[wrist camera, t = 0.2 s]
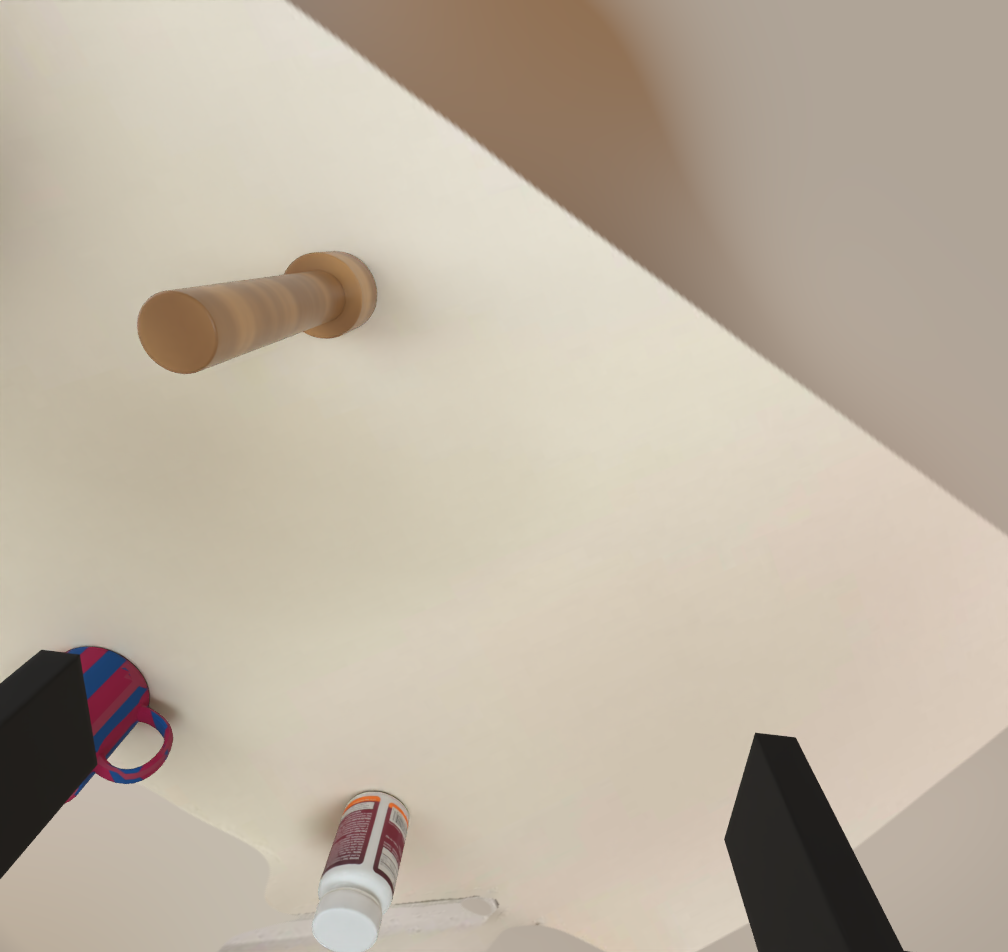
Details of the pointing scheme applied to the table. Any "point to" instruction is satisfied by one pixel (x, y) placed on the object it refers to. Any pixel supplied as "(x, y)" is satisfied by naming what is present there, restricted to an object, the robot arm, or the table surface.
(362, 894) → the pill bottle
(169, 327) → the muddler
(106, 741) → the mug
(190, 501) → the table surface
